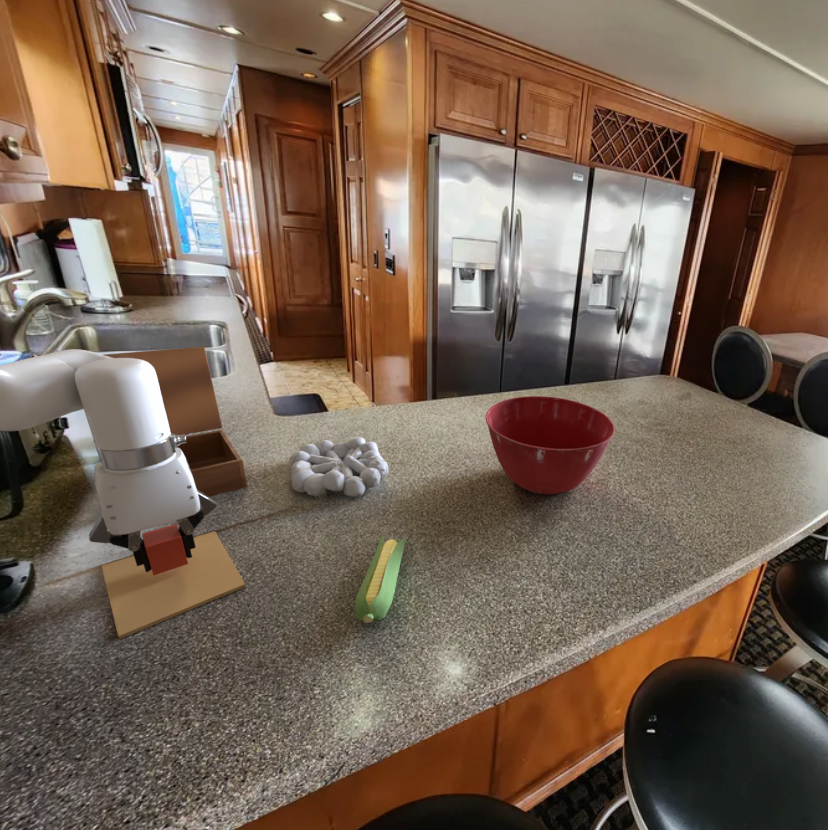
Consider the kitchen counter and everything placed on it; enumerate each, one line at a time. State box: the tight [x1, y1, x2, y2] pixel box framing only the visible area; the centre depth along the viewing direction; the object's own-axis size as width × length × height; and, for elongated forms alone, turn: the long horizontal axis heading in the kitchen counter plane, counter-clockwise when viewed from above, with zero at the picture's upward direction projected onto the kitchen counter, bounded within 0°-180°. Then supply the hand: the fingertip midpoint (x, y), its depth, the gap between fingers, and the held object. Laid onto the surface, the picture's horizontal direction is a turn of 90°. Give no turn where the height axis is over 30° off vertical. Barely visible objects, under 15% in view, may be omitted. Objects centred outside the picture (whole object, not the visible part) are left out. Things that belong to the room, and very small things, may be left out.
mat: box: [100, 530, 247, 640], centre depth 69 cm, size 20×14×1 cm
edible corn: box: [354, 533, 407, 624], centre depth 71 cm, size 5×20×5 cm, turn 7°
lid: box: [103, 346, 223, 435], centre depth 91 cm, size 17×16×1 cm
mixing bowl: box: [485, 395, 616, 495], centre depth 103 cm, size 28×28×16 cm
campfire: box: [289, 436, 389, 498], centre depth 97 cm, size 22×21×6 cm
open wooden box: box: [177, 429, 248, 498], centre depth 89 cm, size 17×16×7 cm
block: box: [141, 523, 188, 575], centre depth 68 cm, size 4×4×5 cm
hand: (167, 558), depth 68 cm, fingers closed on block, 4 cm apart
